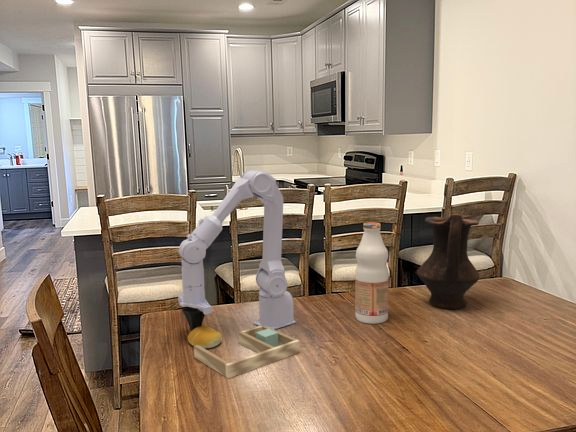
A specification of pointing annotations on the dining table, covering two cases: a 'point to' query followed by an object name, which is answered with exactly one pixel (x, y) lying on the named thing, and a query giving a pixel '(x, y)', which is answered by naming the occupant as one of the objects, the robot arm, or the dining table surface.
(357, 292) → the fruit juice
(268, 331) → the teal block
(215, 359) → the organiser frame
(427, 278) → the jug
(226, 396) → the dining table surface
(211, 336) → the bread roll
